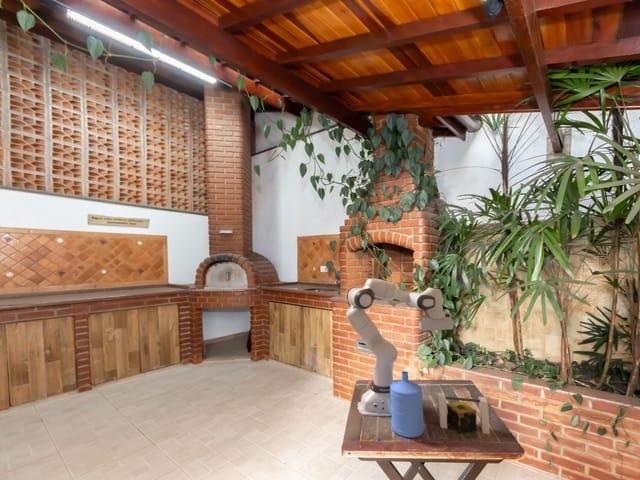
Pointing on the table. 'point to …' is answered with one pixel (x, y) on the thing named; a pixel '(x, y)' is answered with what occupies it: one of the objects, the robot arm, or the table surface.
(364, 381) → the table surface
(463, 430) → the candle
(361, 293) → the robot arm
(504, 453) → the table surface
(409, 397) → the water jug
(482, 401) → the frame
